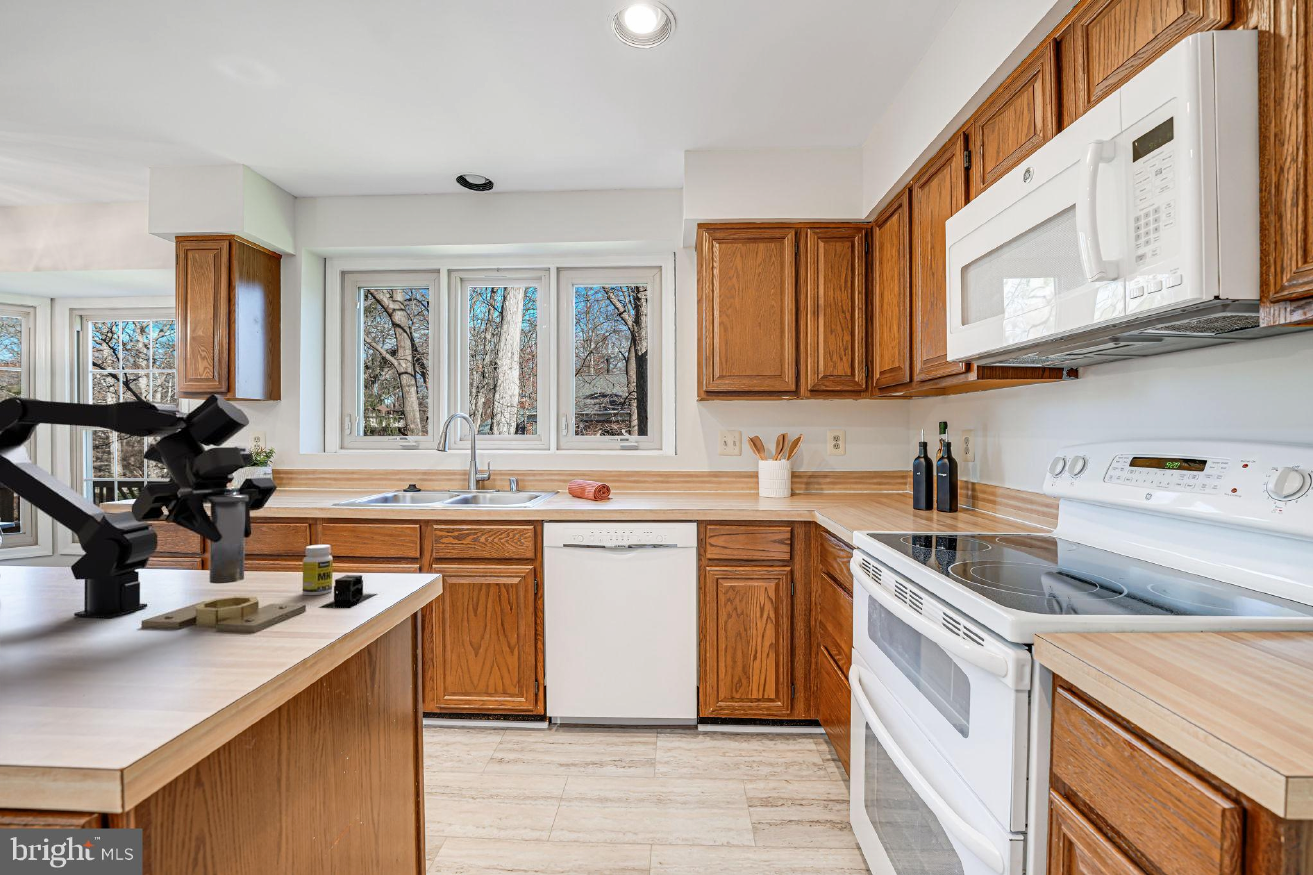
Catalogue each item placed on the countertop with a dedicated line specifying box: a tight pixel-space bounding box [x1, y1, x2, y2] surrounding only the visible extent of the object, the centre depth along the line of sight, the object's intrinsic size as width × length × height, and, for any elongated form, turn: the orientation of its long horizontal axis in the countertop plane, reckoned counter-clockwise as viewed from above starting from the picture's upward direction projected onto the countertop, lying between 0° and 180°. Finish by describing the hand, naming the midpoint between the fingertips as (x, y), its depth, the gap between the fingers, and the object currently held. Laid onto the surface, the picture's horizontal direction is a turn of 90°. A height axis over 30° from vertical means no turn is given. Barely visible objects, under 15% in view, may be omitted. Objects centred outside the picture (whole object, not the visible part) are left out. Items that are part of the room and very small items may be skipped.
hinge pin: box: [208, 494, 249, 585], centre depth 95 cm, size 5×5×13 cm
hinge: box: [140, 595, 307, 633], centre depth 95 cm, size 18×11×2 cm, turn 84°
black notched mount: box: [318, 574, 378, 609], centre depth 106 cm, size 12×7×5 cm, turn 178°
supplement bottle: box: [302, 544, 334, 596], centre depth 112 cm, size 5×5×8 cm
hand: (233, 538), depth 95 cm, fingers closed on hinge pin, 4 cm apart
